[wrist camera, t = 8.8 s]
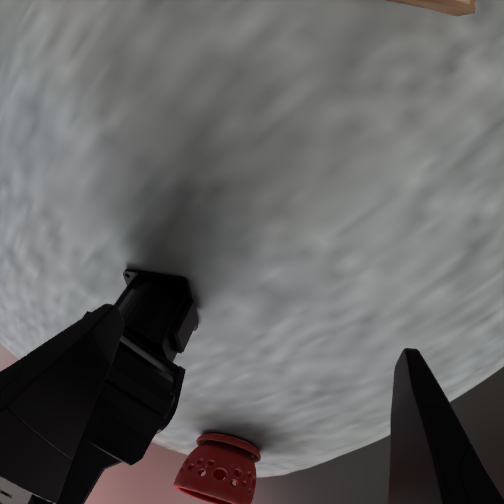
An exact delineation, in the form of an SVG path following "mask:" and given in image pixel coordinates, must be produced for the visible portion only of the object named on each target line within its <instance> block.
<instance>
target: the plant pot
mask: <svg viewBox="0 0 504 504" xmlns="http://www.w3.org/2000/svg"><path fill="white" fill-rule="evenodd" d="M196 442H197V445H198V447H197V448H195V449H194V450H193V451H192V452H191V453H190V454H189V456H188V457H187V458H186V460H185V461H184V463H183V465H182V467H181V469H180V470H179V473H178V474H177V477H176V479H175V482H174V484H173V486H174V487H175V488H176V489H178V490H180V491H181V492H183V493H186V494H188V495H190V496H193V497H195V498H198V499H201V500H204V501H207V502H210V503H214V504H251V502H252V499H253V495H254V491H255V485H256V469H255V464H254V463H256V462H258V461H260V459H261V455H260V453H259V451H258V450H257V448H255V447H254V446H253V445H251V444H250V443H249V442H248V441H245V440H241V439H238V438H235V437H232V436H228V435H224V434H216V433H209V434H204V435H202V436H200V437H199V438H198V439H197V441H196ZM204 471H206V474H205V475H204V476H201V474H202V472H204ZM224 477H226V478H225V479H224V480H223V478H224ZM233 481H235V482H236V486H234V485H233V484H232V482H233Z"/></svg>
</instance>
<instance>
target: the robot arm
mask: <svg viewBox="0 0 504 504" xmlns="http://www.w3.org/2000/svg"><path fill="white" fill-rule="evenodd" d="M123 276H124V279H125V281H126V284H127V287H126V289H125V290H124V291H123V293H122V294H121V296H120V297H119V298H118V300H117V301H116V303H115V304H114V305H112V304H104V305H102V306H101V307H99V308H98V309H96V310H95V311H93V312H88V311H87V312H86V314H85V315H84V316H83V318H82V319H81V320H79V321H77V322H76V323H74V324H73V325H71V326H70V327H68V328H67V329H65V330H64V331H62V332H61V333H59V334H57V335H56V336H54V337H53V338H51V339H50V340H48V341H47V342H45V343H44V344H42V345H41V346H39V347H38V348H36V349H35V350H33V351H32V352H30V353H29V354H27V356H24V357H23V358H21V359H20V360H18V361H17V362H15V363H14V364H12V365H11V366H9V367H7V368H6V369H4V370H2V371H1V372H0V504H84V503H85V501H86V499H87V498H88V496H89V494H90V493H91V491H92V489H93V488H94V486H95V484H96V482H97V481H98V479H99V477H100V476H101V474H102V473H103V471H104V470H105V469H107V468H109V467H111V466H114V465H116V464H119V463H121V462H124V463H126V464H128V465H133V464H135V463H136V462H138V461H139V460H140V459H142V458H143V456H144V454H145V452H146V450H147V448H148V446H149V444H150V443H151V441H152V439H153V437H154V436H155V434H158V433H160V432H161V431H162V430H163V429H164V428H165V427H166V426H167V425H168V424H169V422H170V421H171V419H172V417H173V416H174V414H175V411H176V409H177V405H178V401H179V397H180V392H181V388H182V383H183V379H184V375H185V369H184V368H182V367H181V366H177V365H176V364H174V363H173V361H174V359H175V356H176V354H177V353H182V352H183V351H184V349H185V347H186V345H187V343H188V341H189V338H190V336H191V334H192V332H193V331H196V330H197V328H198V323H197V321H198V317H197V312H196V308H195V303H194V301H193V299H192V296H191V291H190V287H189V282H188V280H187V279H186V278H184V277H180V276H173V275H166V274H160V273H153V272H147V271H140V270H134V269H125V271H124V272H123ZM183 283H184V284H183ZM388 504H504V499H503V498H502V496H501V494H500V493H499V491H498V489H497V488H496V487H495V484H494V483H493V481H492V480H491V478H490V476H489V475H488V473H487V471H486V470H485V468H484V466H483V465H482V463H481V461H480V459H479V457H478V455H477V453H476V451H475V449H474V448H473V445H472V443H470V440H469V438H468V436H467V434H466V432H465V430H464V428H463V427H462V425H461V423H460V421H459V419H458V417H457V416H456V414H455V412H454V410H453V408H452V407H451V405H450V403H449V401H448V399H447V397H446V396H445V394H444V392H443V390H442V389H441V387H440V385H439V384H438V382H437V380H436V378H435V377H434V375H433V373H432V372H431V370H430V368H429V367H428V365H427V363H426V362H425V360H424V358H423V357H422V355H421V354H420V352H419V351H418V350H417V349H412V348H405V349H404V350H403V351H402V353H401V355H400V357H399V359H398V361H397V363H396V366H395V371H394V385H393V397H392V408H391V446H390V476H389V492H388Z"/></svg>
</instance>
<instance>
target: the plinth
mask: <svg viewBox="0 0 504 504" xmlns="http://www.w3.org/2000/svg"><path fill="white" fill-rule="evenodd" d="M387 1H393V2H399V3H404V4H409V5H414V6H419V7H423V8H427V9H432V10H436V11H440V12H443V13H447V14H451V15H454V16H461V15H466V14H472V13H475V0H387Z"/></svg>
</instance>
